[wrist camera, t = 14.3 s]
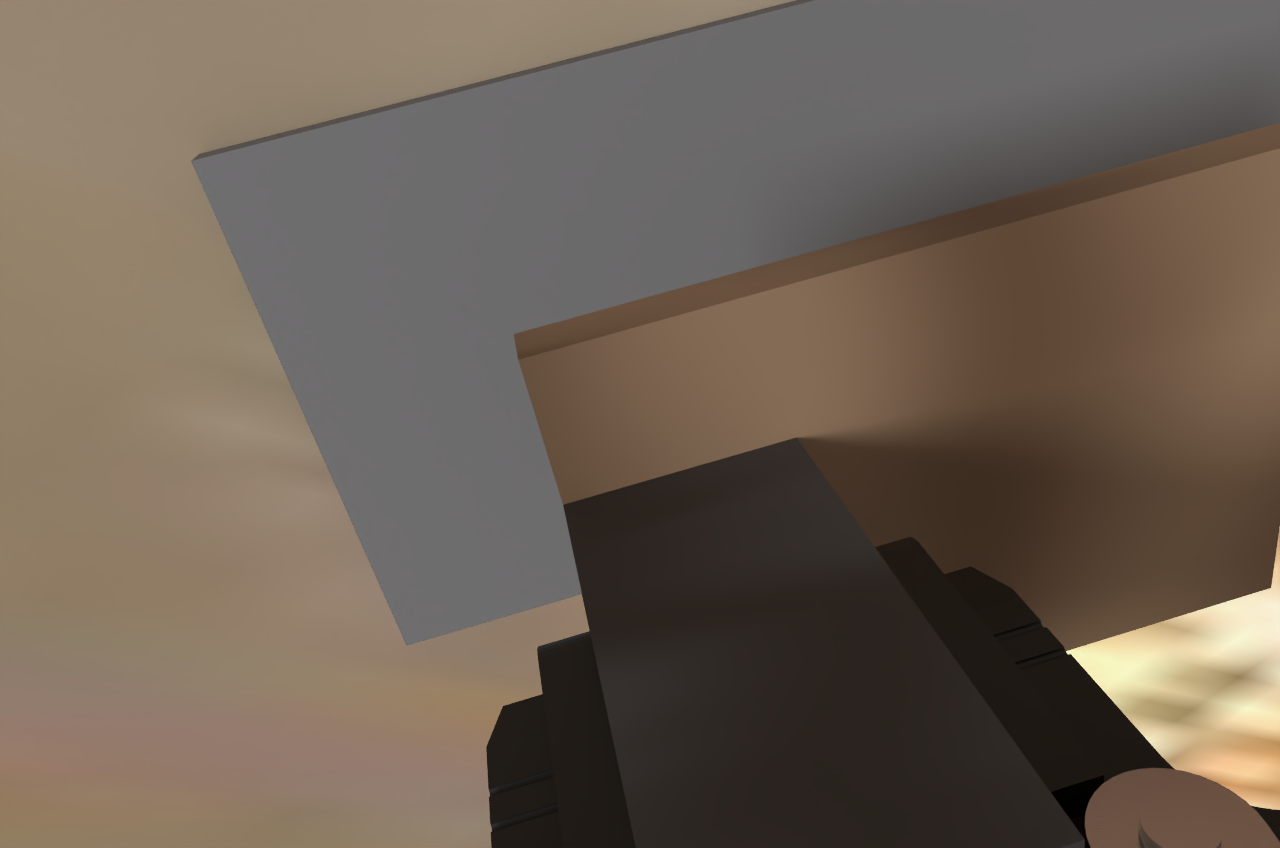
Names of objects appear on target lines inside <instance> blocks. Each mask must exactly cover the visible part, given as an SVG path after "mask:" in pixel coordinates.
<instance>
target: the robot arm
mask: <svg viewBox="0 0 1280 848" xmlns="http://www.w3.org/2000/svg"><path fill="white" fill-rule="evenodd" d="M875 548H876V549H877V551H878V552H879V554H880V555H881V556H882V558H883V559H884V561H885V562H886V563H887V565H888V566H889V568H890V569H891V570H892V572H893V573H894V575H895V576H896V577H897V579H898V580H899V582H900V583H901V584H902V586H903V587H904V589H905V590H906V591H907V593H908V594H909V595H910V597H911V598H912V600H913V601H914V602H915V604H916V605H917V607H918V608H919V609H920V611H921V612H922V614H923V615H924V616H925V618H926V619H927V621H928V622H929V623H930V625H931V626H932V628H933V629H934V630H935V632H936V633H937V635H938V636H939V637H940V639H941V640H942V641H943V643H944V644H945V646H946V647H947V648H948V650H949V651H950V653H951V654H952V655H953V657H954V658H955V660H956V661H957V662H958V664H959V665H960V667H961V668H962V669H963V671H964V672H965V674H966V675H967V676H968V678H969V679H970V681H971V682H972V683H973V685H974V686H975V687H976V689H977V690H978V692H979V693H980V694H981V696H982V697H983V699H984V700H985V701H986V703H987V704H988V706H989V707H990V708H991V710H992V711H993V713H994V714H995V715H996V717H997V718H998V720H999V721H1000V722H1001V724H1002V725H1003V727H1004V728H1005V729H1006V731H1007V732H1008V733H1009V735H1010V736H1011V738H1012V739H1013V740H1014V742H1015V743H1016V745H1017V746H1018V747H1019V749H1020V750H1021V752H1022V753H1023V754H1024V756H1025V757H1026V759H1027V760H1028V761H1029V763H1030V764H1031V766H1032V767H1033V768H1034V770H1035V771H1036V773H1037V774H1038V775H1039V777H1040V778H1041V779H1042V781H1043V782H1044V784H1045V785H1046V786H1047V788H1048V789H1049V791H1050V792H1051V793H1052V795H1053V796H1054V798H1055V799H1056V800H1057V802H1058V803H1059V805H1060V806H1061V807H1062V809H1063V810H1064V812H1065V813H1066V814H1067V816H1068V817H1069V819H1070V820H1071V821H1072V823H1073V824H1074V825H1075V827H1076V828H1077V830H1078V831H1079V832H1080V834H1081V835H1082V837H1083V838H1084V839H1085V848H1280V810H1272V809H1266V808H1259V807H1254V806H1250V805H1249V804H1248V803H1247V802H1246V801H1245V800H1243V799H1242V798H1241V797H1239V796H1238V795H1236V794H1235V793H1234V792H1232V791H1231V790H1229V789H1227V788H1225V787H1223V786H1222V785H1220V784H1218V783H1216V782H1214V781H1211V780H1209V779H1207V778H1204V777H1202V776H1199V775H1196V774H1192V773H1189V772H1185V771H1180V770H1175V769H1174V768H1173V767H1172V766H1171V765H1170V764H1169V763H1168V762H1167V761H1166V760H1165V759H1164V758H1163V757H1162V756H1161V755H1160V754H1159V753H1158V752H1157V751H1156V750H1155V749H1154V747H1153V746H1152V745H1151V744H1150V743H1149V742H1148V741H1147V740H1146V738H1145V737H1144V736H1143V735H1142V734H1141V733H1140V732H1139V731H1138V729H1137V728H1136V727H1135V726H1134V725H1133V724H1132V723H1131V722H1130V720H1129V719H1128V718H1127V717H1126V716H1125V715H1124V714H1123V713H1122V711H1121V710H1120V709H1119V708H1118V707H1117V706H1116V705H1115V704H1114V702H1113V701H1112V700H1111V699H1110V698H1109V697H1108V696H1107V695H1106V693H1105V692H1104V691H1103V690H1102V689H1101V688H1100V687H1099V685H1098V684H1097V683H1096V682H1095V681H1094V680H1093V679H1092V678H1091V676H1090V675H1089V674H1088V673H1087V672H1086V671H1085V670H1084V669H1083V667H1082V666H1081V665H1080V664H1079V663H1078V662H1077V661H1076V660H1075V658H1074V657H1073V656H1072V655H1071V654H1070V655H1068V654H1067V653H1066V651H1065V647H1064V646H1063V645H1062V644H1061V643H1060V642H1059V640H1058V639H1057V638H1056V637H1055V636H1054V635H1053V634H1052V633H1051V631H1050V630H1049V629H1048V628H1047V627H1045V628H1044V627H1043V626H1042V624H1041V620H1040V619H1039V618H1038V617H1037V616H1036V614H1035V613H1034V612H1033V611H1032V610H1031V609H1030V608H1029V607H1028V605H1027V604H1026V603H1025V602H1024V601H1023V600H1022V599H1021V598H1020V596H1019V595H1018V594H1017V593H1016V592H1015V591H1014V590H1013V589H1012V588H1011V587H1009V586H1007V585H1005V584H1003V583H1001V582H999V581H998V580H996V579H994V578H992V577H990V576H988V575H986V574H984V573H983V572H981V571H979V570H977V569H975V568H973V567H971V566H970V567H967V568H963V569H960V570H957V571H953V572H950V573H947V574H944V573H943V572H942V571H941V570H940V568H939V567H938V566H937V564H936V563H935V562H934V561H933V559H932V558H931V557H930V556H929V554H928V553H927V552H926V551H925V549H924V548H923V547H922V546H921V544H920V543H919V542H918V541H917V540H916V539H914V538H912V537H907V538H904V539H901V540H897V541H894V542H891V543H887V544H884V545H880V546H877V547H875ZM537 651H538V661H539V669H540V677H541V684H542V692H543V694H542V695H539V696H535V697H532V698H529V699H525V700H522V701H519V702H515V703H512V704H509V705H505V706H503V708H502V710H501V712H500V715H499V717H498V720H497V722H496V725H495V727H494V730H493V732H492V735H491V737H490V740H489V742H488V745H487V747H486V748H487V767H488V787H489V791H490V797H489V806H490V823H491V827H492V832H491V844H492V848H636V846H635V841H634V837H633V832H632V827H631V822H630V818H629V813H628V808H627V804H626V799H625V794H624V789H623V785H622V780H621V775H620V771H619V766H618V761H617V756H616V752H615V747H614V742H613V738H612V733H611V728H610V724H609V719H608V714H607V709H606V705H605V700H604V695H603V691H602V686H601V681H600V676H599V672H598V667H597V662H596V658H595V653H594V648H593V644H592V639H591V634H590V631H589V632H586V633H582V634H579V635H576V636H572V637H569V638H565V639H562V640H559V641H555V642H552V643H549V644H545V645H542V646H539V647H538V649H537Z"/></svg>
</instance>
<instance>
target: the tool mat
mask: <svg viewBox="0 0 1280 848" xmlns="http://www.w3.org/2000/svg"><path fill="white" fill-rule="evenodd" d="M1277 123H1280V0H797V1H793V2H789V3H785V4H781V5H777V6H773V7H769V8H765V9H762V10H758V11H754V12H750V13H746V14H742V15H738V16H734V17H730V18H727V19H723V20H719V21H715V22H711V23H707V24H703V25H699V26H696V27H692V28H688V29H684V30H680V31H676V32H672V33H668V34H664V35H661V36H657V37H653V38H649V39H645V40H641V41H637V42H633V43H629V44H626V45H622V46H618V47H614V48H610V49H606V50H602V51H598V52H594V53H591V54H587V55H583V56H579V57H575V58H571V59H567V60H563V61H560V62H556V63H552V64H548V65H544V66H540V67H536V68H532V69H528V70H525V71H521V72H517V73H513V74H509V75H505V76H501V77H497V78H493V79H490V80H486V81H482V82H478V83H474V84H470V85H466V86H462V87H458V88H455V89H451V90H447V91H443V92H439V93H435V94H431V95H427V96H424V97H420V98H416V99H412V100H408V101H404V102H400V103H396V104H392V105H389V106H385V107H381V108H377V109H373V110H369V111H365V112H361V113H357V114H354V115H350V116H346V117H342V118H338V119H334V120H330V121H326V122H322V123H319V124H315V125H311V126H307V127H303V128H299V129H295V130H291V131H287V132H284V133H280V134H276V135H272V136H268V137H264V138H260V139H256V140H253V141H249V142H245V143H241V144H237V145H233V146H229V147H225V148H221V149H218V150H214V151H210V152H206V153H202V154H199V155H198V156H197V157H195V158H194V159H193V160H192V161H191V162H192V164H193V166H194V168H195V171H196V173H197V175H198V177H199V180H200V182H201V184H202V186H203V189H204V191H205V193H206V195H207V198H208V200H209V202H210V204H211V207H212V209H213V211H214V213H215V216H216V218H217V220H218V222H219V225H220V227H221V229H222V231H223V234H224V236H225V238H226V240H227V243H228V245H229V247H230V249H231V252H232V254H233V256H234V258H235V261H236V263H237V265H238V267H239V270H240V272H241V274H242V276H243V279H244V281H245V283H246V285H247V288H248V290H249V292H250V294H251V297H252V299H253V301H254V303H255V306H256V308H257V310H258V312H259V315H260V317H261V319H262V321H263V324H264V326H265V328H266V330H267V333H268V335H269V337H270V339H271V342H272V344H273V346H274V348H275V351H276V353H277V355H278V357H279V360H280V362H281V364H282V366H283V369H284V371H285V373H286V375H287V378H288V380H289V382H290V384H291V387H292V389H293V391H294V393H295V396H296V398H297V400H298V402H299V405H300V407H301V409H302V411H303V414H304V416H305V418H306V420H307V423H308V425H309V427H310V429H311V432H312V434H313V436H314V438H315V441H316V443H317V445H318V447H319V450H320V452H321V454H322V456H323V459H324V461H325V463H326V465H327V468H328V470H329V472H330V474H331V477H332V479H333V481H334V483H335V486H336V488H337V490H338V492H339V495H340V497H341V499H342V501H343V504H344V506H345V508H346V510H347V513H348V515H349V517H350V519H351V522H352V524H353V526H354V528H355V531H356V533H357V535H358V537H359V540H360V542H361V544H362V546H363V549H364V551H365V553H366V555H367V558H368V560H369V562H370V564H371V567H372V569H373V571H374V573H375V576H376V578H377V580H378V582H379V585H380V587H381V589H382V591H383V594H384V596H385V598H386V600H387V603H388V605H389V607H390V609H391V612H392V614H393V616H394V618H395V621H396V623H397V625H398V627H399V630H400V632H401V634H402V636H403V639H404V641H405V643H406V645H410V644H414V643H417V642H421V641H424V640H427V639H431V638H434V637H438V636H441V635H444V634H448V633H451V632H454V631H458V630H461V629H465V628H468V627H471V626H475V625H478V624H482V623H485V622H488V621H492V620H495V619H498V618H502V617H505V616H509V615H512V614H515V613H519V612H522V611H526V610H529V609H532V608H536V607H539V606H543V605H546V604H549V603H553V602H556V601H559V600H563V599H566V598H570V597H573V596H576V595H580V594H582V592H581V587H580V582H579V578H578V573H577V568H576V564H575V559H574V554H573V549H572V545H571V540H570V535H569V531H568V526H567V521H566V516H565V512H564V507H563V503H562V500H561V497H560V493H559V490H558V487H557V484H556V480H555V477H554V474H553V471H552V468H551V464H550V461H549V458H548V455H547V451H546V448H545V445H544V442H543V438H542V435H541V432H540V429H539V426H538V422H537V419H536V416H535V413H534V409H533V406H532V403H531V400H530V396H529V393H528V390H527V387H526V383H525V380H524V377H523V374H522V371H521V367H520V364H519V361H518V356H517V350H516V345H515V339H514V334H516V333H519V332H523V331H526V330H530V329H534V328H537V327H541V326H545V325H548V324H552V323H555V322H559V321H563V320H566V319H570V318H574V317H577V316H581V315H584V314H588V313H592V312H595V311H599V310H603V309H606V308H610V307H613V306H617V305H621V304H624V303H628V302H632V301H635V300H639V299H642V298H646V297H650V296H653V295H657V294H661V293H664V292H668V291H671V290H675V289H679V288H682V287H686V286H690V285H693V284H697V283H700V282H704V281H708V280H711V279H715V278H719V277H722V276H726V275H729V274H733V273H737V272H740V271H744V270H748V269H751V268H755V267H758V266H762V265H766V264H769V263H773V262H777V261H780V260H784V259H787V258H791V257H795V256H798V255H802V254H806V253H809V252H813V251H816V250H820V249H824V248H827V247H831V246H835V245H838V244H842V243H845V242H849V241H853V240H856V239H860V238H864V237H867V236H871V235H874V234H878V233H882V232H885V231H889V230H892V229H896V228H900V227H903V226H907V225H911V224H914V223H918V222H921V221H925V220H929V219H932V218H936V217H940V216H943V215H947V214H950V213H954V212H958V211H961V210H965V209H969V208H972V207H976V206H979V205H983V204H987V203H990V202H994V201H998V200H1001V199H1005V198H1008V197H1012V196H1016V195H1019V194H1023V193H1027V192H1030V191H1034V190H1037V189H1041V188H1045V187H1048V186H1052V185H1056V184H1059V183H1063V182H1066V181H1070V180H1074V179H1077V178H1081V177H1085V176H1088V175H1092V174H1095V173H1099V172H1103V171H1106V170H1110V169H1114V168H1117V167H1121V166H1124V165H1128V164H1132V163H1135V162H1139V161H1143V160H1146V159H1150V158H1153V157H1157V156H1161V155H1164V154H1168V153H1172V152H1175V151H1179V150H1182V149H1186V148H1190V147H1193V146H1197V145H1201V144H1204V143H1208V142H1211V141H1215V140H1219V139H1222V138H1226V137H1230V136H1233V135H1237V134H1240V133H1244V132H1248V131H1251V130H1255V129H1259V128H1262V127H1266V126H1269V125H1273V124H1277Z"/></svg>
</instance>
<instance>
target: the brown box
mask: <svg viewBox="0 0 1280 848" xmlns="http://www.w3.org/2000/svg"><path fill="white" fill-rule="evenodd" d="M514 339H515V345H516V350H517V356H518V361H519V364H520V367H521V371H522V374H523V377H524V380H525V383H526V387H527V390H528V393H529V396H530V400H531V403H532V406H533V409H534V413H535V416H536V419H537V422H538V426H539V429H540V432H541V435H542V438H543V442H544V445H545V448H546V451H547V455H548V458H549V461H550V464H551V468H552V471H553V474H554V477H555V480H556V484H557V487H558V490H559V493H560V497H561V500H562V503H563V507H564V512H565V516H566V521H567V526H568V531H569V535H570V540H571V545H572V549H573V554H574V559H575V564H576V568H577V573H578V578H579V582H580V587H581V592H582V596H583V601H584V606H585V611H586V615H587V620H588V625H589V629H590V634H591V639H592V644H593V648H594V653H595V658H596V662H597V667H598V672H599V676H600V681H601V686H602V691H603V695H604V700H605V705H606V709H607V714H608V719H609V724H610V728H611V733H612V738H613V742H614V747H615V752H616V756H617V761H618V766H619V771H620V775H621V780H622V785H623V789H624V794H625V799H626V804H627V808H628V813H629V818H630V822H631V827H632V832H633V837H634V841H635V846H636V848H1085V839H1084V838H1083V837H1082V835H1081V834H1080V832H1079V831H1078V830H1077V828H1076V827H1075V825H1074V824H1073V823H1072V821H1071V820H1070V819H1069V817H1068V816H1067V814H1066V813H1065V812H1064V810H1063V809H1062V807H1061V806H1060V805H1059V803H1058V802H1057V800H1056V799H1055V798H1054V796H1053V795H1052V793H1051V792H1050V791H1049V789H1048V788H1047V786H1046V785H1045V784H1044V782H1043V781H1042V779H1041V778H1040V777H1039V775H1038V774H1037V773H1036V771H1035V770H1034V768H1033V767H1032V766H1031V764H1030V763H1029V761H1028V760H1027V759H1026V757H1025V756H1024V754H1023V753H1022V752H1021V750H1020V749H1019V747H1018V746H1017V745H1016V743H1015V742H1014V740H1013V739H1012V738H1011V736H1010V735H1009V733H1008V732H1007V731H1006V729H1005V728H1004V727H1003V725H1002V724H1001V722H1000V721H999V720H998V718H997V717H996V715H995V714H994V713H993V711H992V710H991V708H990V707H989V706H988V704H987V703H986V701H985V700H984V699H983V697H982V696H981V694H980V693H979V692H978V690H977V689H976V687H975V686H974V685H973V683H972V682H971V681H970V679H969V678H968V676H967V675H966V674H965V672H964V671H963V669H962V668H961V667H960V665H959V664H958V662H957V661H956V660H955V658H954V657H953V655H952V654H951V653H950V651H949V650H948V648H947V647H946V646H945V644H944V643H943V641H942V640H941V639H940V637H939V636H938V635H937V633H936V632H935V630H934V629H933V628H932V626H931V625H930V623H929V622H928V621H927V619H926V618H925V616H924V615H923V614H922V612H921V611H920V609H919V608H918V607H917V605H916V604H915V602H914V601H913V600H912V598H911V597H910V595H909V594H908V593H907V591H906V590H905V589H904V587H903V586H902V584H901V583H900V582H899V580H898V579H897V577H896V576H895V575H894V573H893V572H892V570H891V569H890V568H889V566H888V565H887V563H886V562H885V561H884V559H883V558H882V556H881V555H880V554H879V552H878V551H877V549H876V548H875V547H877V546H880V545H884V544H887V543H891V542H894V541H897V540H901V539H904V538H907V537H912V538H914V539H916V540H917V541H918V542H919V543H920V544H921V546H922V547H923V548H924V549H925V551H926V552H927V553H928V554H929V556H930V557H931V558H932V559H933V561H934V562H935V563H936V564H937V566H938V567H939V568H940V570H941V571H942V572H943V573H944V574H947V573H950V572H953V571H957V570H960V569H963V568H967V567H970V566H971V567H973V568H975V569H977V570H979V571H981V572H983V573H984V574H986V575H988V576H990V577H992V578H994V579H996V580H998V581H999V582H1001V583H1003V584H1005V585H1007V586H1009V587H1011V588H1012V589H1013V590H1014V591H1015V592H1016V593H1017V594H1018V595H1019V596H1020V598H1021V599H1022V600H1023V601H1024V602H1025V603H1026V604H1027V605H1028V607H1029V608H1030V609H1031V610H1032V611H1033V612H1034V613H1035V614H1036V616H1037V617H1038V618H1039V619H1040V620H1041V624H1042V626H1043V627H1044V628H1045V627H1047V628H1048V629H1049V630H1050V631H1051V633H1052V634H1053V635H1054V636H1055V637H1056V638H1057V639H1058V640H1059V642H1060V643H1061V644H1062V645H1063V646H1064V647H1065V651H1067V650H1071V649H1074V648H1077V647H1080V646H1084V645H1087V644H1090V643H1093V642H1097V641H1100V640H1103V639H1106V638H1110V637H1113V636H1116V635H1119V634H1123V633H1126V632H1129V631H1132V630H1136V629H1139V628H1142V627H1145V626H1148V625H1152V624H1155V623H1158V622H1161V621H1165V620H1168V619H1171V618H1174V617H1178V616H1181V615H1184V614H1187V613H1191V612H1194V611H1197V610H1200V609H1204V608H1207V607H1210V606H1213V605H1217V604H1220V603H1223V602H1226V601H1229V600H1233V599H1236V598H1239V597H1242V596H1246V595H1249V594H1252V593H1255V592H1259V591H1262V590H1265V589H1268V588H1271V584H1272V577H1273V569H1274V562H1275V555H1276V548H1277V541H1278V534H1279V526H1280V123H1277V124H1273V125H1269V126H1266V127H1262V128H1259V129H1255V130H1251V131H1248V132H1244V133H1240V134H1237V135H1233V136H1230V137H1226V138H1222V139H1219V140H1215V141H1211V142H1208V143H1204V144H1201V145H1197V146H1193V147H1190V148H1186V149H1182V150H1179V151H1175V152H1172V153H1168V154H1164V155H1161V156H1157V157H1153V158H1150V159H1146V160H1143V161H1139V162H1135V163H1132V164H1128V165H1124V166H1121V167H1117V168H1114V169H1110V170H1106V171H1103V172H1099V173H1095V174H1092V175H1088V176H1085V177H1081V178H1077V179H1074V180H1070V181H1066V182H1063V183H1059V184H1056V185H1052V186H1048V187H1045V188H1041V189H1037V190H1034V191H1030V192H1027V193H1023V194H1019V195H1016V196H1012V197H1008V198H1005V199H1001V200H998V201H994V202H990V203H987V204H983V205H979V206H976V207H972V208H969V209H965V210H961V211H958V212H954V213H950V214H947V215H943V216H940V217H936V218H932V219H929V220H925V221H921V222H918V223H914V224H911V225H907V226H903V227H900V228H896V229H892V230H889V231H885V232H882V233H878V234H874V235H871V236H867V237H864V238H860V239H856V240H853V241H849V242H845V243H842V244H838V245H835V246H831V247H827V248H824V249H820V250H816V251H813V252H809V253H806V254H802V255H798V256H795V257H791V258H787V259H784V260H780V261H777V262H773V263H769V264H766V265H762V266H758V267H755V268H751V269H748V270H744V271H740V272H737V273H733V274H729V275H726V276H722V277H719V278H715V279H711V280H708V281H704V282H700V283H697V284H693V285H690V286H686V287H682V288H679V289H675V290H671V291H668V292H664V293H661V294H657V295H653V296H650V297H646V298H642V299H639V300H635V301H632V302H628V303H624V304H621V305H617V306H613V307H610V308H606V309H603V310H599V311H595V312H592V313H588V314H584V315H581V316H577V317H574V318H570V319H566V320H563V321H559V322H555V323H552V324H548V325H545V326H541V327H537V328H534V329H530V330H526V331H523V332H519V333H516V334H514Z"/></svg>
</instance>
